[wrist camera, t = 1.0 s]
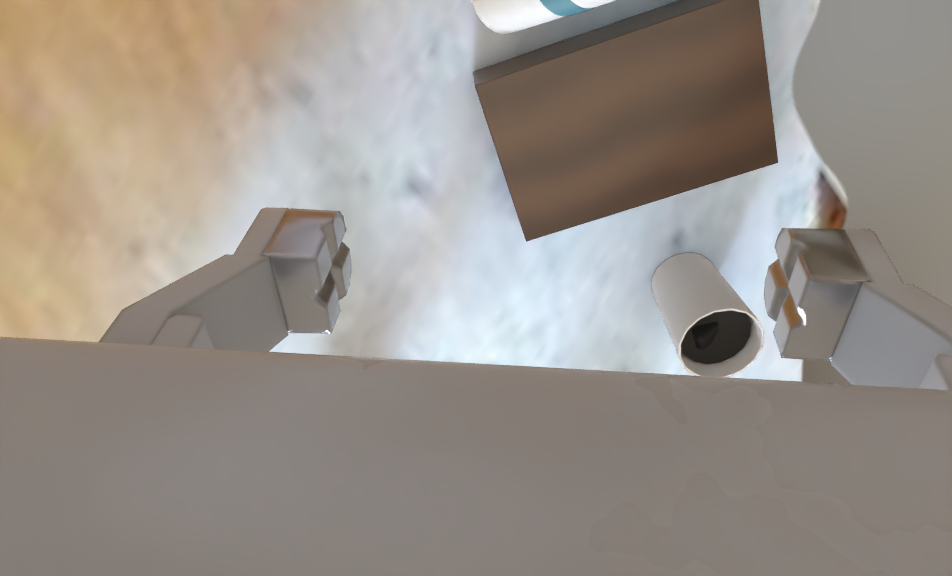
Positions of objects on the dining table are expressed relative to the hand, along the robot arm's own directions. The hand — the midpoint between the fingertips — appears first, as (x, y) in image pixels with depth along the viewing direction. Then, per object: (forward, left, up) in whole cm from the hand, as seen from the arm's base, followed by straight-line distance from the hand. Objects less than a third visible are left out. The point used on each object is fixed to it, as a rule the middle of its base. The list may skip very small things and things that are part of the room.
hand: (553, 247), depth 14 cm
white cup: (+30, +10, -43) cm, 54 cm away
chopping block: (+13, +8, -43) cm, 46 cm away
